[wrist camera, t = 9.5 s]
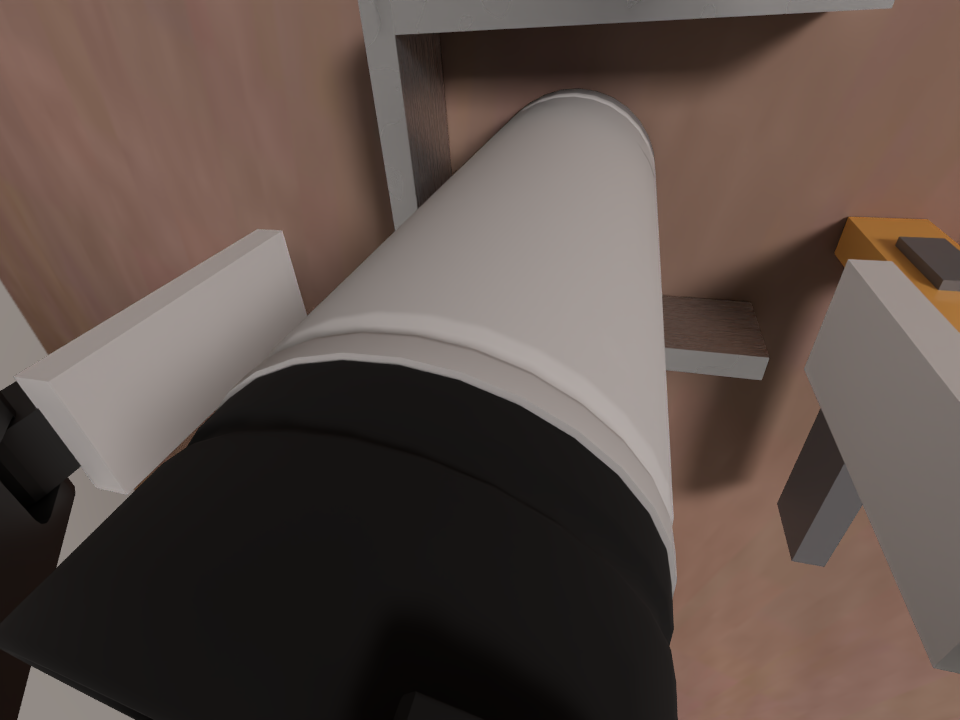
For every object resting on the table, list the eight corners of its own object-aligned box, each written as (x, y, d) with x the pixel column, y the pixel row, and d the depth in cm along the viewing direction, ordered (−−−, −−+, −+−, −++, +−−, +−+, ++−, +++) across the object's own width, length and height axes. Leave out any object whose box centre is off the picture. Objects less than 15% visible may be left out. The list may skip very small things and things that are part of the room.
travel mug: (700, 155, 18) (1055, 1233, 2) (579, 279, 22) (418, 979, 6) (565, 36, 17) (-332, 572, 1) (464, 190, 21) (-53, 764, 5)
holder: (408, -7, 17) (357, -6, 14) (852, -40, 14) (911, -48, 11) (442, 298, 24) (413, 343, 21) (744, 322, 21) (761, 380, 18)
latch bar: (851, 208, 18) (1044, 414, 9) (931, 210, 17) (1217, 432, 9) (753, 461, 25) (809, 703, 17) (807, 469, 25) (892, 723, 16)
